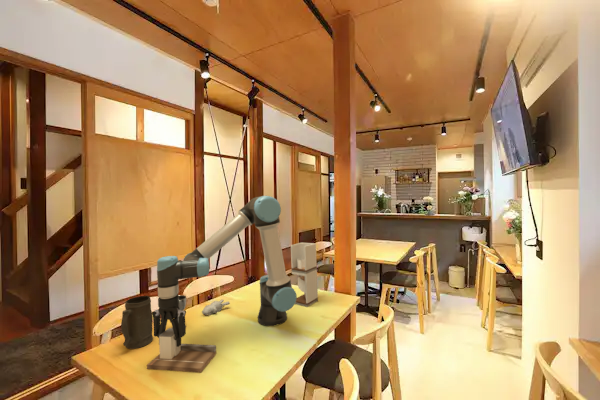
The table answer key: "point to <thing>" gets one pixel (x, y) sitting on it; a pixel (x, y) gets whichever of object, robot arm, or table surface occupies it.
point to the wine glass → (181, 304)
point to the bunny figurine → (214, 307)
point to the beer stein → (137, 322)
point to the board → (186, 359)
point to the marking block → (167, 344)
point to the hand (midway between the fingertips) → (170, 353)
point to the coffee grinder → (305, 272)
